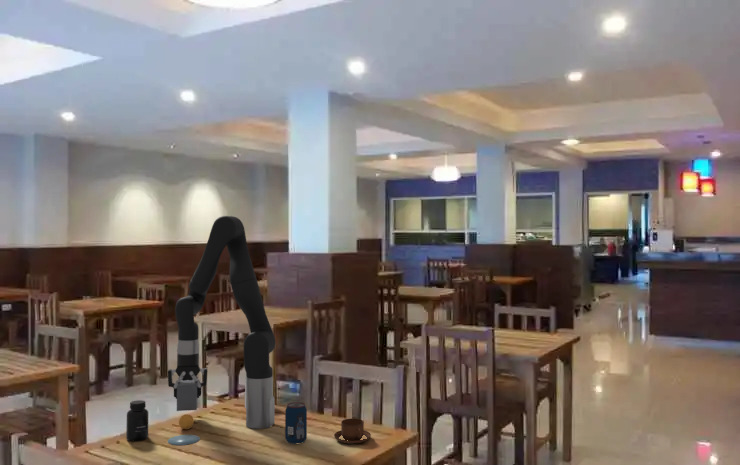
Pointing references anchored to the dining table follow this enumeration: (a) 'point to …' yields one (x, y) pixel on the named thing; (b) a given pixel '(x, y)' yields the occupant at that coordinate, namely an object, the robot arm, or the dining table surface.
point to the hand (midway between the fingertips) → (187, 397)
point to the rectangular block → (187, 395)
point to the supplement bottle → (137, 421)
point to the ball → (186, 421)
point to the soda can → (296, 422)
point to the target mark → (183, 440)
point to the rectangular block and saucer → (352, 431)
